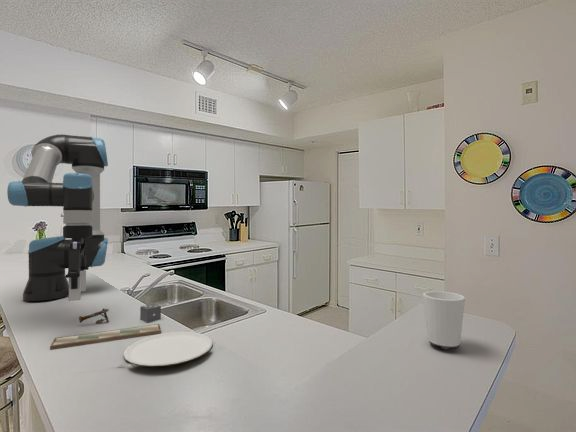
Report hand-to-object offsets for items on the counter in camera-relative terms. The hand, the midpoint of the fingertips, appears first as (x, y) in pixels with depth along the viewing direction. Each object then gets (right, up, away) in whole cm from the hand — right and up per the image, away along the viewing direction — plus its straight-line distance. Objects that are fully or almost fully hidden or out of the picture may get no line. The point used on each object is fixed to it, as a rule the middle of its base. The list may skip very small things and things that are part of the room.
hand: (78, 295), depth 99 cm
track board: (+14, -9, -8) cm, 19 cm away
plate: (+34, -10, -17) cm, 39 cm away
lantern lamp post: (0, -9, +1) cm, 9 cm away
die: (+19, -10, +6) cm, 22 cm away
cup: (+103, -10, -14) cm, 105 cm away
